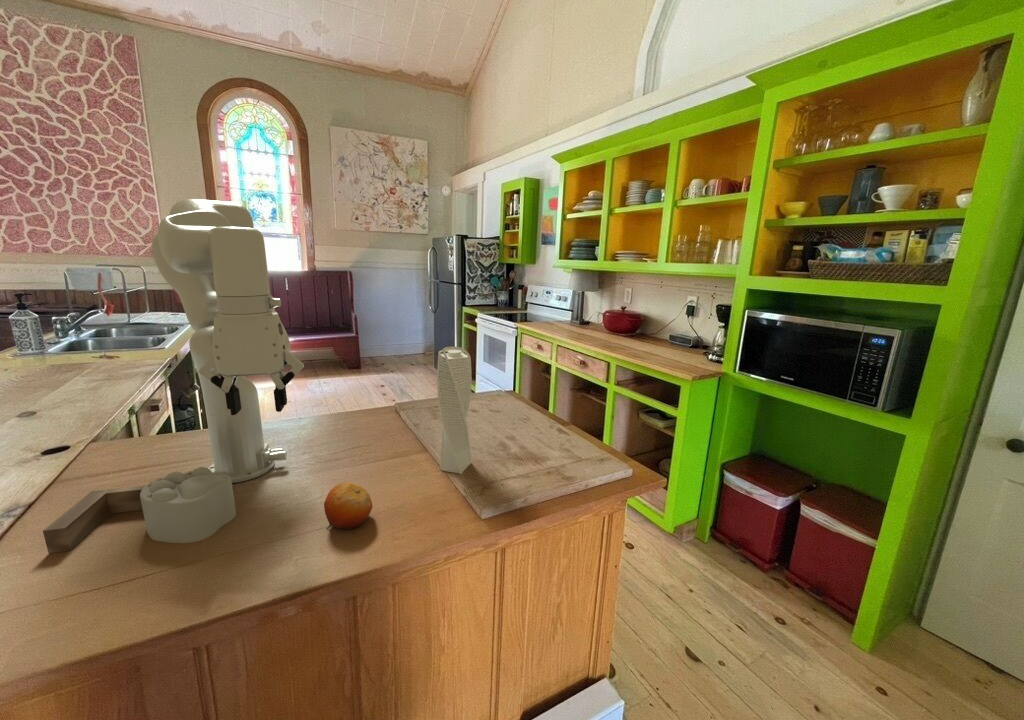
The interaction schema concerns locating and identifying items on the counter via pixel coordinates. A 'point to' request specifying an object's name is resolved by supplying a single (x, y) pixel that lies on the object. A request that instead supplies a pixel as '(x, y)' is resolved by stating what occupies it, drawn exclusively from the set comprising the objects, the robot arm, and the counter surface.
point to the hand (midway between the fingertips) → (258, 409)
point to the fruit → (347, 506)
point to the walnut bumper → (89, 516)
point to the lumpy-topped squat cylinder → (187, 505)
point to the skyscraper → (454, 407)
